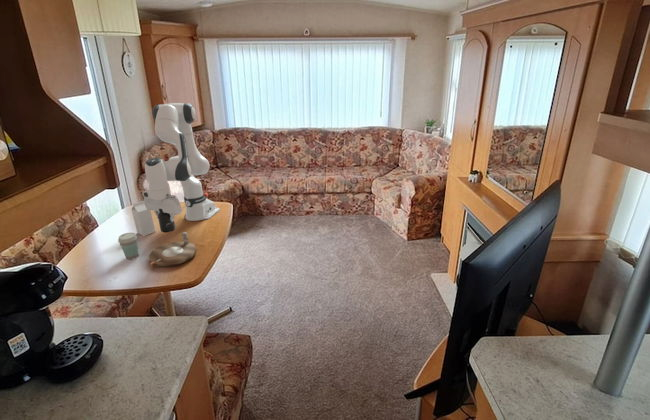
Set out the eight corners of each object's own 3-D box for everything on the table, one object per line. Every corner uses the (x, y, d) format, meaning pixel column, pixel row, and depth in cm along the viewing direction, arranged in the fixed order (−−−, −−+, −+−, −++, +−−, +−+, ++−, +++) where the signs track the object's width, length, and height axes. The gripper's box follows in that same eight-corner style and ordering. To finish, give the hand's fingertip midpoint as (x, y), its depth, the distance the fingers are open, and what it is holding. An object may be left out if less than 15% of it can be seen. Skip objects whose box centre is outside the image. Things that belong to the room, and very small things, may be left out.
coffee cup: (133, 251, 190) (127, 230, 186) (145, 254, 187) (140, 233, 183) (119, 259, 183) (113, 238, 178) (131, 262, 180) (125, 241, 175)
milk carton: (155, 231, 211) (148, 201, 204) (143, 236, 206) (136, 205, 198) (149, 228, 215) (142, 198, 208) (137, 233, 210) (129, 202, 202)
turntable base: (173, 245, 195) (172, 239, 194) (199, 251, 188) (198, 245, 187) (138, 266, 176) (137, 260, 175) (166, 274, 170) (165, 267, 168)
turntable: (173, 241, 197) (170, 228, 194) (205, 248, 189) (203, 235, 186) (139, 260, 179) (136, 247, 176) (173, 270, 170) (170, 256, 167)
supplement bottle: (170, 233, 175) (166, 210, 170) (158, 232, 176) (152, 209, 171) (178, 227, 181) (174, 205, 176) (166, 226, 182) (161, 204, 177)
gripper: (182, 193, 169) (187, 220, 175) (150, 188, 177) (155, 214, 183) (171, 198, 164) (177, 225, 170) (139, 192, 172) (145, 219, 177)
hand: (166, 219), depth 176 cm, fingers closed on supplement bottle, 6 cm apart
